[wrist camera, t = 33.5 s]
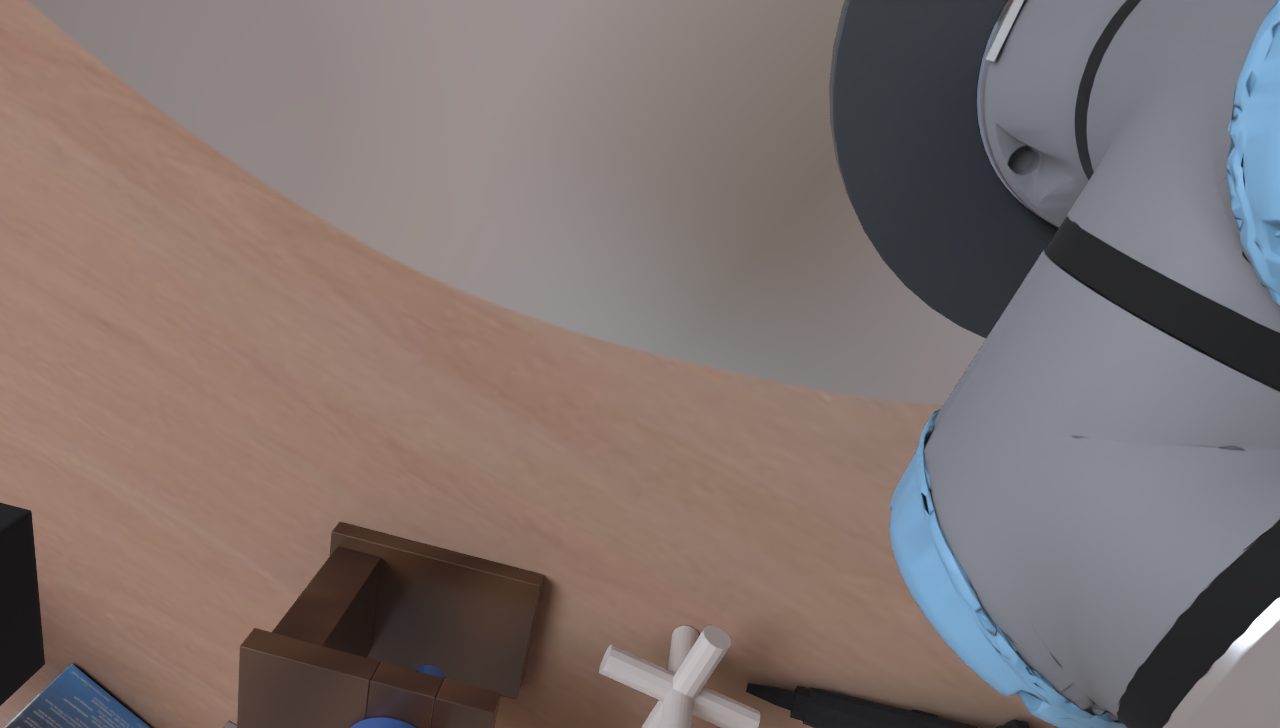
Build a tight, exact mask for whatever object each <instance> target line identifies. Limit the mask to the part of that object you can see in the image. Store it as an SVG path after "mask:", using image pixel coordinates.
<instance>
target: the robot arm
mask: <svg viewBox="0 0 1280 728" xmlns="http://www.w3.org/2000/svg"><path fill="white" fill-rule="evenodd" d="M977 118H978V125H979V130H980V136H981V139H982V142H983V146H984V149H985V152H986V154H987V156H988V159H989V161H990V163H991V165H992V167H993V169H994V170H995V172H996V174H997V176H998V177H999V178H1000V180H1001V181H1002V183H1003V184H1004V185H1005V187H1006V188H1007V189H1008V190H1009V191H1010V192H1011V193H1012V194H1013V196H1014V197H1015V198H1016V199H1018V200H1019V201H1020V202H1021V203H1022V204H1023V205H1024V206H1026V207H1027V208H1028V209H1029V210H1031V211H1032V212H1033V213H1035V214H1036V215H1038V216H1039V217H1041V218H1042V219H1044V220H1045V221H1047V222H1049V223H1050V224H1052V225H1054V226H1056V227H1058V228H1059V229H1058V230H1057V232H1056V234H1055V235H1054V237H1053V238H1052V240H1051V241H1050V243H1049V245H1048V246H1047V248H1046V249H1045V250H1043V252H1042V253H1041V255H1040V256H1039V258H1038V259H1037V261H1036V263H1035V264H1034V266H1033V267H1032V269H1031V270H1030V272H1029V273H1028V275H1027V276H1026V278H1025V280H1024V281H1023V283H1022V284H1021V286H1020V287H1019V289H1018V290H1017V292H1016V294H1015V295H1014V297H1013V298H1012V300H1011V301H1010V303H1009V304H1008V306H1007V308H1006V309H1005V311H1004V312H1003V314H1002V315H1001V317H1000V318H999V320H998V321H997V323H996V325H995V326H994V328H993V329H992V331H991V332H990V334H989V335H988V337H987V339H986V340H985V342H984V343H983V345H982V346H981V348H980V349H979V351H978V353H977V354H976V356H975V357H974V359H973V360H972V362H971V364H970V365H969V367H968V368H967V370H966V371H965V373H964V374H963V376H962V377H961V379H960V380H959V382H958V384H957V385H956V387H955V388H954V390H953V391H952V393H951V394H950V396H949V398H948V399H947V401H946V402H945V404H944V405H943V407H942V408H941V409H939V410H937V411H936V412H934V413H933V414H932V416H931V417H930V419H929V420H928V422H927V423H926V424H925V427H924V429H923V431H922V433H921V437H920V441H919V446H918V449H917V451H916V453H915V455H914V456H913V458H912V460H911V462H910V463H909V465H908V467H907V469H906V470H905V472H904V474H903V475H902V477H901V479H900V481H899V482H898V484H897V486H896V489H895V491H894V494H893V497H892V501H891V506H890V510H891V519H890V540H891V544H892V548H893V552H894V556H895V559H896V562H897V565H898V568H899V570H900V572H901V574H902V577H903V579H904V581H905V583H906V585H907V587H908V589H909V591H910V593H911V594H912V596H913V598H914V599H915V601H916V603H917V604H918V606H919V607H920V609H921V610H922V612H923V613H924V615H925V616H926V618H927V619H928V621H929V622H930V623H931V625H932V626H933V627H934V629H935V630H936V631H937V632H938V634H939V635H940V636H941V637H942V639H943V640H944V641H945V642H946V643H947V645H948V646H949V647H950V648H951V649H952V650H953V651H954V652H955V653H956V654H957V655H958V656H959V657H960V658H961V659H962V660H963V662H964V663H965V664H966V665H968V666H969V667H970V668H971V669H972V670H973V671H974V672H975V673H976V674H977V675H978V676H980V677H981V678H982V679H983V680H984V681H985V682H986V683H988V684H989V685H990V686H992V687H993V688H994V689H995V690H997V691H998V692H999V693H1001V694H1002V695H1003V696H1012V695H1014V694H1016V693H1017V695H1018V696H1019V697H1020V698H1021V699H1022V700H1023V702H1024V704H1025V705H1026V707H1027V709H1028V710H1029V712H1030V713H1031V714H1032V715H1034V716H1036V717H1038V718H1040V719H1041V720H1043V721H1045V722H1047V723H1050V724H1052V725H1054V726H1056V727H1058V728H1280V0H1007V2H1006V4H1005V5H1004V7H1003V8H1002V10H1001V12H1000V14H999V16H998V18H997V20H996V22H995V24H994V26H993V28H992V31H991V33H990V36H989V38H988V40H987V44H986V47H985V50H984V53H983V56H982V61H981V65H980V70H979V75H978V84H977ZM44 664H45V660H44V649H43V637H42V626H41V615H40V604H39V592H38V581H37V570H36V559H35V547H34V536H33V525H32V513H31V511H30V510H26V509H22V508H19V507H15V506H11V505H7V504H3V503H0V706H1V705H2V704H3V703H4V702H5V701H6V700H7V699H8V698H9V697H10V696H11V695H12V694H13V693H14V692H16V691H17V690H18V689H19V688H20V687H21V686H22V685H23V684H24V683H25V682H26V681H27V680H28V679H29V678H31V677H32V676H33V675H34V674H35V673H36V672H37V671H38V670H39V669H40V668H41V667H42V666H43V665H44Z"/></svg>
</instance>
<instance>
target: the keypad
mask: <svg viewBox="0 0 1280 728" xmlns="http://www.w3.org/2000/svg"><path fill="white" fill-rule="evenodd" d="M224 728H237V726H236V725H235V724H233V723H231V722H229V721H228V723H227V724H226V725H225V727H224Z"/></svg>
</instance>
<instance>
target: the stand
mask: <svg viewBox="0 0 1280 728" xmlns="http://www.w3.org/2000/svg"><path fill="white" fill-rule="evenodd" d="M543 580H544V575H542V574H538V573H534V572H530V571H526V570H522V569H519V568H515V567H511V566H507V565H503V564H499V563H495V562H492V561H488V560H484V559H480V558H476V557H472V556H469V555H465V554H461V553H457V552H453V551H449V550H445V549H442V548H438V547H434V546H430V545H426V544H422V543H419V542H415V541H411V540H407V539H403V538H399V537H395V536H392V535H388V534H384V533H380V532H376V531H372V530H369V529H365V528H361V527H357V526H353V525H349V524H345V523H342V522H339V523H338V525H337V526H336V527H335V528H334V530H333V531H332V535H331V546H330V557H329V558H328V560H327V561H326V562H325V564H324V565H323V566H322V567H321V569H320V570H319V571H318V573H317V574H316V575H315V577H314V578H313V579H312V581H311V582H310V583H309V584H308V586H307V587H306V588H305V590H304V591H303V592H302V594H301V595H300V596H299V598H298V599H297V600H296V601H295V603H294V604H293V605H292V607H291V608H290V609H289V611H288V612H287V613H286V614H285V616H284V617H283V618H282V620H281V621H280V622H279V624H278V625H277V626H276V628H275V629H274V630H273V631H272V632H268V631H264V630H260V629H256V628H254V629H253V631H252V632H251V633H250V634H249V636H248V637H247V638H246V640H245V641H244V642H243V643H242V645H241V646H240V662H239V692H238V722H237V728H351V727H352V726H353V725H355V724H356V723H358V722H360V721H362V720H365V719H369V718H376V717H386V718H393V719H398V720H401V721H404V722H406V723H409V724H411V725H413V726H415V727H417V728H494V726H495V721H496V716H497V711H498V706H499V701H500V696H501V695H502V696H505V697H509V698H513V699H516V698H517V696H518V693H519V690H520V687H521V683H522V678H523V673H524V669H525V664H526V659H527V655H528V650H529V645H530V641H531V636H532V631H533V627H534V622H535V617H536V612H537V608H538V603H539V598H540V594H541V589H542V584H543ZM423 665H431V666H435V667H437V668H439V669H440V670H441V671H442V672H443V673H444V674H445V675H446V678H447V679H444V678H442V677H438V676H434V675H430V674H426V673H423V672H419V671H415V669H417V668H418V667H420V666H423Z"/></svg>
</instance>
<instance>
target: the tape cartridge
mask: <svg viewBox="0 0 1280 728" xmlns="http://www.w3.org/2000/svg"><path fill="white" fill-rule="evenodd" d="M4 728H151V727H150V726H149V725H147V724H146V723H145V722H144V721H142V720H141V719H140V718H138V717H137V716H136V715H134V714H133V713H132V712H131V711H129V710H128V709H127V708H125V707H124V706H123V705H122V704H120V703H119V702H118V701H117V700H116V699H114V698H113V697H112V696H111V695H109V694H108V693H107V692H106V691H105V690H103V689H102V688H101V687H100V686H99V685H97V684H96V683H95V682H94V681H92V680H91V679H90V678H89V677H88V676H86V675H85V674H84V673H83V672H82V671H80V670H79V669H78V668H77V667H76V666H75V665H73V664H71V665H69V666H68V667H67V668H66V669H65V670H63V671H62V672H61V673H60V674H59V675H58V676H57V677H56V678H55V679H54V680H53V681H52V682H51V683H50V684H49V685H48V686H47V687H46V688H44V689H43V690H42V691H41V692H40V693H39V694H38V695H37V696H36V697H35V698H34V699H33V700H32V701H31V702H30V703H29V704H28V705H27V706H26V707H25V708H24V709H23V710H22V711H20V712H19V713H18V714H17V715H16V716H15V717H14V718H13V719H12V720H11V721H10V722H9V723H8V724H7V725H6V726H5V727H4Z"/></svg>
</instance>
